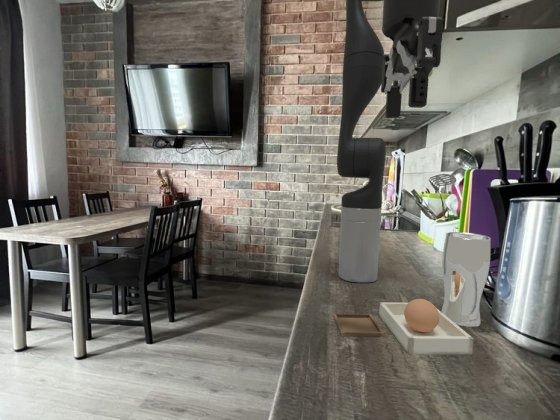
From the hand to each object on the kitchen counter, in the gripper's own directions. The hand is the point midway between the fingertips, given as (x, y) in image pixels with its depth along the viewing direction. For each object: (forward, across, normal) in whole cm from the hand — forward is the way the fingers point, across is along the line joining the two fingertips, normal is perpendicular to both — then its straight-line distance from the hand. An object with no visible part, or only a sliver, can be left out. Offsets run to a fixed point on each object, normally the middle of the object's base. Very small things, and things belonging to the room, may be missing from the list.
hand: (403, 112), depth 46 cm
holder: (+34, -1, -5) cm, 34 cm away
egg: (+34, +1, +4) cm, 34 cm away
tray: (+34, +1, +4) cm, 34 cm away
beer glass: (+34, -4, +14) cm, 37 cm away
